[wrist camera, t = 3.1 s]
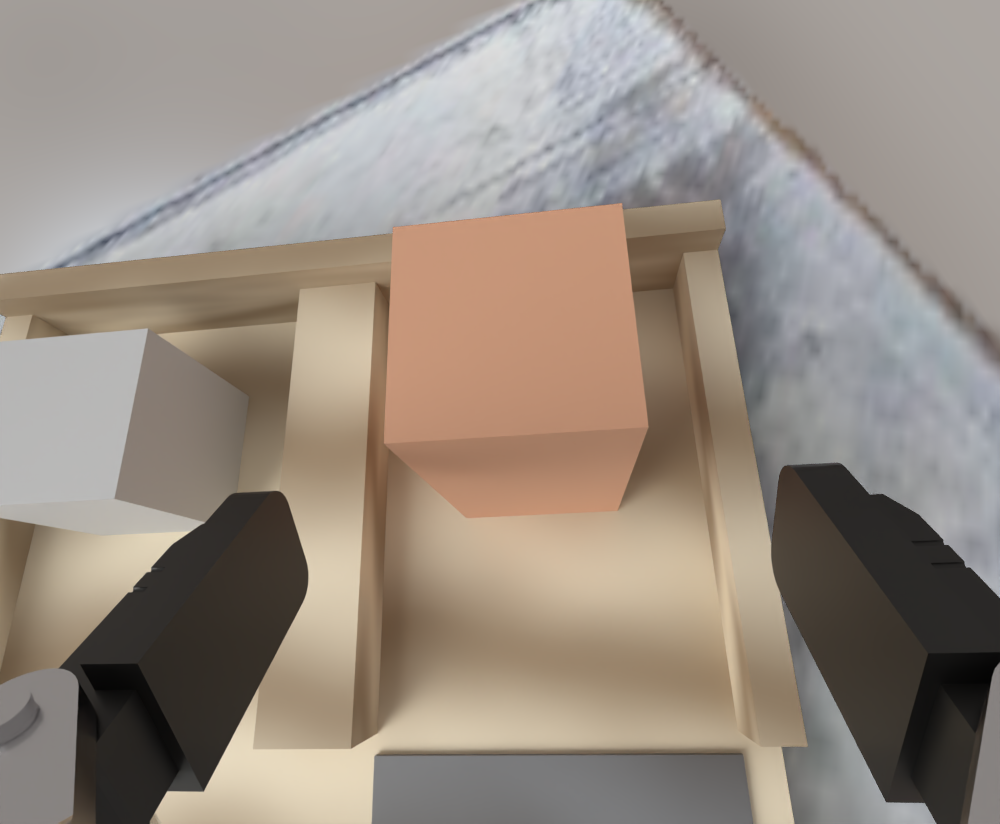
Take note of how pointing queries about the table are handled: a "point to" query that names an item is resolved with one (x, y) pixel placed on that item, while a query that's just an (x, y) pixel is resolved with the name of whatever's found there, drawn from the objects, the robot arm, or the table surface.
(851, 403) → the table surface
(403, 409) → the terracotta block
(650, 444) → the wooden divided tray
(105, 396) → the grey block
